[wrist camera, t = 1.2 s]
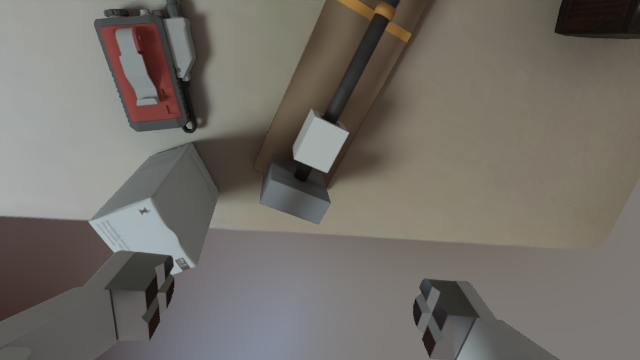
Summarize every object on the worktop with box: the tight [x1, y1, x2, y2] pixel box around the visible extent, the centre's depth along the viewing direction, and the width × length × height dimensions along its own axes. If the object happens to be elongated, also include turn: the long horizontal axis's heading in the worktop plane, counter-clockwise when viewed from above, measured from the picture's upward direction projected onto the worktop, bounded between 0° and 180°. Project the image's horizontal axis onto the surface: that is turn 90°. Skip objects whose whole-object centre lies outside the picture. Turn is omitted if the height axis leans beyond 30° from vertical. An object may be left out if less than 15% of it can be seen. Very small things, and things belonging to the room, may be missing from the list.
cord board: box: [253, 0, 430, 225], centre depth 32 cm, size 10×29×10 cm, turn 153°
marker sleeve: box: [293, 108, 349, 173], centre depth 33 cm, size 4×5×4 cm
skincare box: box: [89, 143, 219, 275], centre depth 33 cm, size 8×6×15 cm
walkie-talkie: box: [94, 0, 197, 133], centre depth 31 cm, size 9×4×20 cm
